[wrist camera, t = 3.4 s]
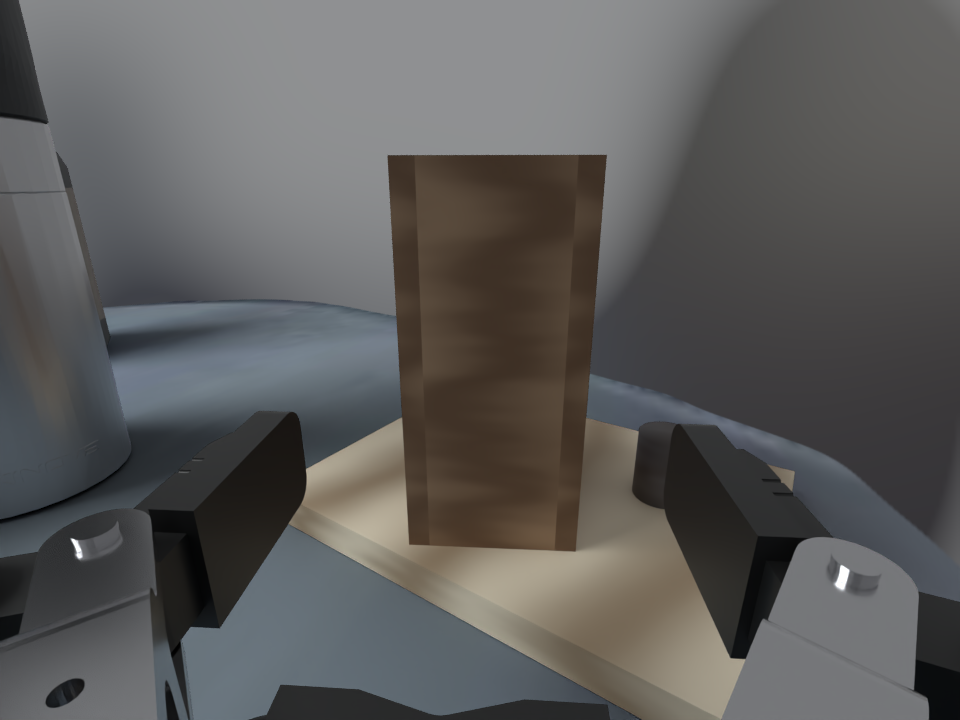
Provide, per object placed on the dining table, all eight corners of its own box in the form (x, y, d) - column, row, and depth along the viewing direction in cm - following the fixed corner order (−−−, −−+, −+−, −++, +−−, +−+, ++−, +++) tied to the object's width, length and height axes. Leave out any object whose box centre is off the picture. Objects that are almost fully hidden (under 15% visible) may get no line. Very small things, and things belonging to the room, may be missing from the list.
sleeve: (409, 544, 20) (387, 155, 15) (433, 459, 26) (423, 163, 21) (575, 551, 19) (606, 154, 15) (560, 463, 25) (578, 163, 21)
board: (274, 516, 24) (260, 429, 22) (460, 405, 35) (459, 344, 34) (749, 778, 13) (783, 649, 12) (788, 497, 25) (808, 415, 24)
